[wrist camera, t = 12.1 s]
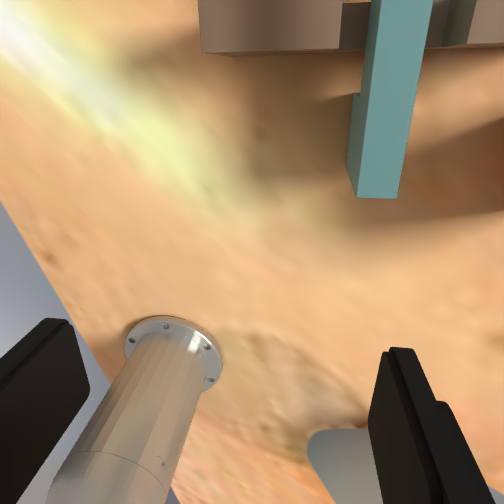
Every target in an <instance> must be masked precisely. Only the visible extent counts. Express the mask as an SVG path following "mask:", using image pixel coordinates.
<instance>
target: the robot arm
mask: <svg viewBox="0 0 504 504" xmlns="http://www.w3.org/2000/svg"><path fill="white" fill-rule="evenodd" d="M124 352H125V356H126V359H127V361H126V363H125V364H124V366H123V368H122V369H121V371H120V372H119V374H118V376H117V377H116V379H115V380H114V382H113V384H112V385H111V387H110V388H109V390H108V392H107V393H106V395H105V396H104V398H103V400H102V401H101V403H100V405H99V406H98V408H97V409H96V411H95V412H94V414H93V416H92V418H91V419H90V421H89V422H88V424H87V425H86V427H85V429H84V430H83V432H82V433H81V435H80V437H79V438H78V440H77V441H76V443H75V445H74V446H73V448H72V450H71V451H70V453H69V454H68V456H67V458H66V460H65V461H64V462H63V464H62V466H61V467H60V469H59V470H58V472H57V474H56V476H55V477H54V479H53V482H52V484H51V486H50V489H49V492H48V495H47V499H46V504H164V503H165V500H166V497H167V493H168V491H169V488H170V485H171V482H172V479H173V476H174V473H175V470H176V467H177V464H178V461H179V458H180V455H181V452H182V449H183V446H184V443H185V440H186V437H187V434H188V431H189V428H190V425H191V422H192V419H193V416H194V413H195V410H196V407H197V404H198V401H199V398H200V395H201V392H203V391H206V390H207V389H209V388H211V387H212V386H213V385H214V384H215V383H216V382H217V380H218V379H219V377H220V374H221V371H222V366H223V358H222V354H221V351H220V348H219V347H218V345H217V343H216V342H215V341H214V339H213V338H212V337H211V336H210V335H209V334H208V333H207V332H205V331H204V330H203V329H202V328H200V327H198V326H197V325H195V324H193V323H191V322H188V321H186V320H183V319H180V318H176V317H169V316H155V317H151V318H147V319H144V320H142V321H140V322H139V323H137V324H136V325H135V326H134V327H133V328H132V330H131V331H130V332H129V334H128V335H127V337H126V340H125V344H124ZM89 392H90V385H89V381H88V378H87V374H86V371H85V367H84V364H83V360H82V356H81V353H80V349H79V346H78V342H77V338H76V335H75V331H74V328H73V326H72V325H70V324H69V322H68V321H67V320H65V319H56V318H45V319H44V320H42V321H41V322H40V323H39V324H38V325H37V326H36V327H34V328H33V329H32V330H31V331H30V332H29V333H28V334H27V335H26V336H25V337H23V338H22V339H21V340H20V341H19V342H18V343H17V344H16V345H15V346H14V347H12V348H11V349H10V350H9V351H8V352H7V353H6V354H5V355H4V356H3V357H2V358H0V504H16V503H17V501H18V500H19V498H20V497H21V495H22V494H23V493H24V491H25V490H26V488H27V486H28V485H29V484H30V482H31V481H32V479H33V478H34V476H35V475H36V473H37V472H38V470H39V469H40V468H41V466H42V465H43V463H44V462H45V460H46V459H47V457H48V456H49V454H50V453H51V451H52V450H53V448H54V447H55V445H56V444H57V442H58V441H59V440H60V438H61V437H62V435H63V434H64V432H65V431H66V429H67V428H68V426H69V425H70V423H71V422H72V420H73V419H74V417H75V416H76V414H77V413H78V412H79V410H80V409H81V407H82V406H83V404H84V403H85V401H86V400H87V398H88V396H89ZM368 430H369V435H370V440H371V445H372V450H373V455H374V459H375V464H376V469H377V475H378V479H379V484H380V489H381V494H382V499H383V504H496V503H495V501H494V499H493V497H492V495H491V493H490V491H489V489H488V486H487V484H486V482H485V480H484V478H483V476H482V474H481V472H480V469H479V467H478V465H477V463H476V461H475V459H474V457H473V455H472V452H471V450H470V448H469V446H468V444H467V442H466V440H465V438H464V435H463V433H462V431H461V429H460V427H459V425H458V423H457V421H456V419H455V416H454V414H453V412H452V410H451V408H450V407H449V405H448V404H447V403H446V402H444V401H436V399H435V397H434V394H433V392H432V390H431V387H430V385H429V383H428V381H427V378H426V376H425V374H424V371H423V369H422V367H421V365H420V362H419V360H418V358H417V355H416V353H415V351H414V350H413V349H412V348H400V347H390V349H389V352H383V353H382V356H381V361H380V365H379V370H378V374H377V379H376V383H375V388H374V392H373V397H372V402H371V406H370V411H369V415H368Z"/></svg>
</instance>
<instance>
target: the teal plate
mask: <svg viewBox="0 0 504 504" xmlns="http://www.w3.org/2000/svg"><path fill="white" fill-rule="evenodd" d="M432 4H433V0H371V6H370V15H369V23H368V32H367V41H366V50H365V58H364V67H363V76H362V84H361V93H354V94H353V103H352V113H351V122H350V132H349V141H348V150H347V160H346V168H347V171H348V174H349V177H350V180H351V183H352V186H353V188H354V191H355V194H356V197H357V198H391V199H396V198H397V193H398V188H399V182H400V177H401V172H402V166H403V161H404V155H405V150H406V145H407V139H408V134H409V128H410V123H411V118H412V112H413V107H414V101H415V96H416V91H417V85H418V80H419V74H420V69H421V64H422V58H423V53H424V47H425V42H426V37H427V31H428V26H429V21H430V15H431V10H432Z"/></svg>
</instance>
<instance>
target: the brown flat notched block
mask: <svg viewBox="0 0 504 504" xmlns="http://www.w3.org/2000/svg"><path fill="white" fill-rule="evenodd" d="M342 3H343V0H198V11H199V23H200V36H201V48H202V53H206V54H215V55H224V56H250V55H280V54H311V53H341V52H365V50H366V41H367V32H368V23H369V15H370V6H371V2H362V3H343V4H342ZM493 47H504V0H433V4H432V10H431V15H430V21H429V26H428V31H427V37H426V42H425V47H424V50H432V49H463V48H493Z"/></svg>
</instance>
